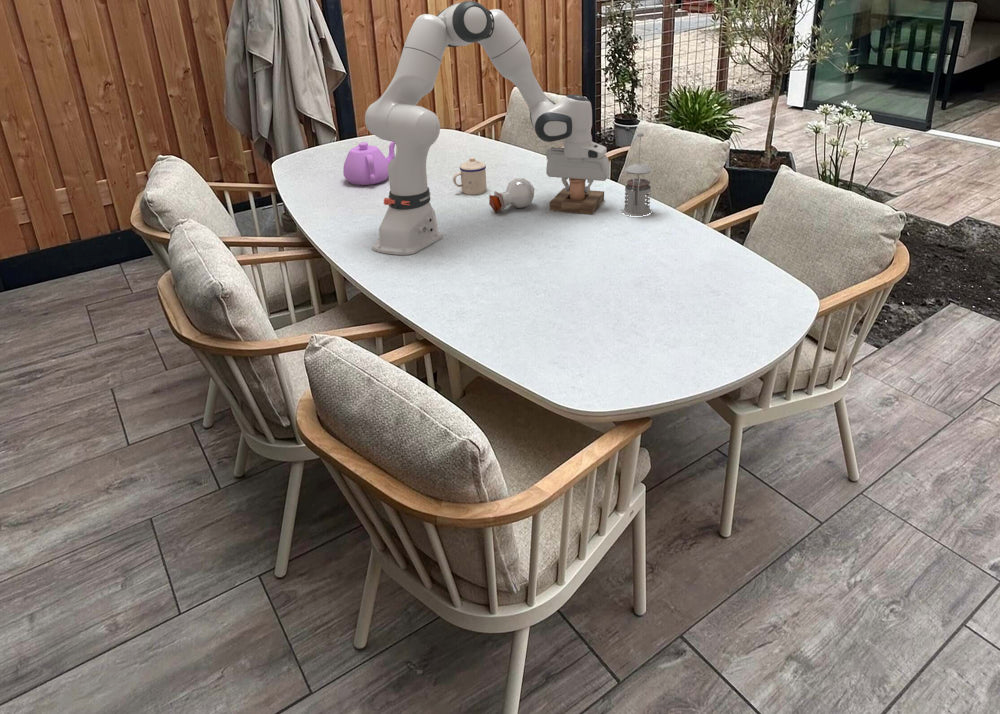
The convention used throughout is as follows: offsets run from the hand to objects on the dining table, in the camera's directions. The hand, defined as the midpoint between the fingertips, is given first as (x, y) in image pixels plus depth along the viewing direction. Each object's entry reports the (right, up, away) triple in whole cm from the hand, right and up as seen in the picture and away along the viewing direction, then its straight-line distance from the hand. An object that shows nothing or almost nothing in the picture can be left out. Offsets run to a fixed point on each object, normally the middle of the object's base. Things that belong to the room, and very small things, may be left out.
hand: (577, 191), depth 246 cm
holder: (0, -4, +2) cm, 5 cm away
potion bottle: (-21, -5, +3) cm, 21 cm away
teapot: (-72, +12, +37) cm, 82 cm away
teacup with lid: (-35, +4, +20) cm, 40 cm away
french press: (+18, -8, -6) cm, 21 cm away
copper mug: (+1, -3, +3) cm, 5 cm away
